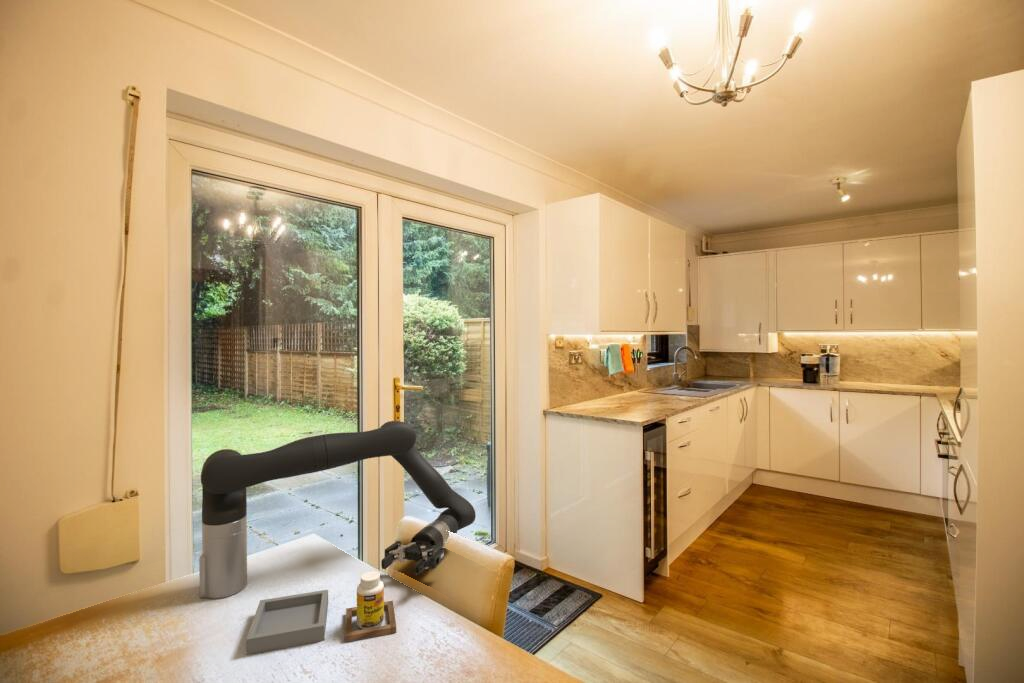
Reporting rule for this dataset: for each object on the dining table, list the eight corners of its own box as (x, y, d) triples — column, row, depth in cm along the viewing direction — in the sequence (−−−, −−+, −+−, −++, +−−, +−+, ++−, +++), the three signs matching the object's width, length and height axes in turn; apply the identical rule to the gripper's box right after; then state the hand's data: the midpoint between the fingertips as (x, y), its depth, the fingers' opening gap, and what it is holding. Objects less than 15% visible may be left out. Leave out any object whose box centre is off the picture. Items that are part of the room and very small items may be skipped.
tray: (246, 654, 90) (246, 639, 90) (260, 613, 104) (260, 600, 104) (324, 640, 95) (324, 625, 95) (328, 602, 108) (328, 589, 108)
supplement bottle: (360, 634, 97) (360, 585, 97) (353, 620, 101) (353, 573, 101) (387, 625, 100) (387, 577, 100) (379, 612, 104) (379, 566, 104)
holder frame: (345, 642, 94) (345, 636, 94) (346, 614, 104) (346, 608, 104) (396, 632, 97) (396, 626, 97) (392, 605, 107) (392, 600, 107)
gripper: (408, 522, 128) (372, 548, 113) (455, 529, 124) (425, 557, 109) (408, 549, 129) (372, 578, 113) (455, 557, 124) (425, 589, 109)
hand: (398, 568), depth 111 cm, fingers open, 8 cm apart
